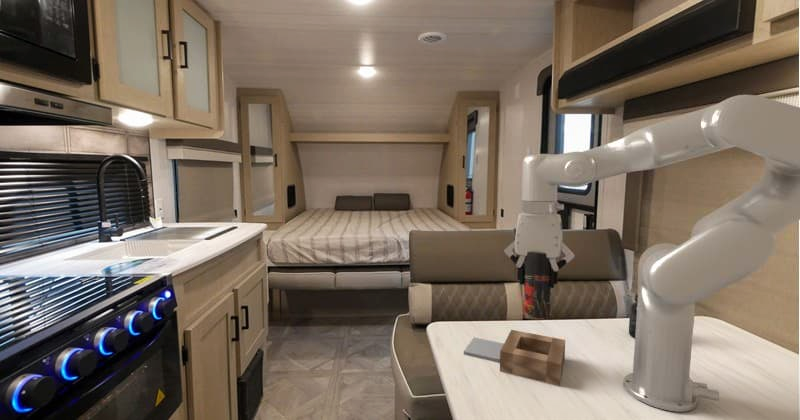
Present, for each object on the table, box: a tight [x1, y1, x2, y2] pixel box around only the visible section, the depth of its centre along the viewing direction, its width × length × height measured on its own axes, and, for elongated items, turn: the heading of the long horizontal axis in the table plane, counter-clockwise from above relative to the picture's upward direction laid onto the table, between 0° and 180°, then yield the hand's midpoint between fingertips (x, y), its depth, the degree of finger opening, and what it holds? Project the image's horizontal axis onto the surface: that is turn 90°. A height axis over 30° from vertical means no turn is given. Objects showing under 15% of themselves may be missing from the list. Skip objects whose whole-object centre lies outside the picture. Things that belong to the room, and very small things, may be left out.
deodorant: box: [522, 252, 552, 319], centre depth 87 cm, size 6×6×15 cm
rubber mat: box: [463, 336, 505, 363], centre depth 97 cm, size 9×9×1 cm
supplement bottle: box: [628, 292, 638, 339], centre depth 104 cm, size 7×7×12 cm
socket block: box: [499, 329, 566, 387], centre depth 89 cm, size 13×13×5 cm
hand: (537, 284), depth 87 cm, fingers closed on deodorant, 6 cm apart
